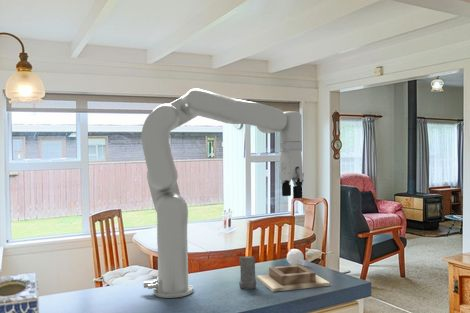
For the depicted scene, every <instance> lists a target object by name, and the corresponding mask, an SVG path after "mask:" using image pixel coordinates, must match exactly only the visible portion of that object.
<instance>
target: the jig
mask: <svg viewBox="0 0 470 313" xmlns="http://www.w3.org/2000/svg"><path fill="white" fill-rule="evenodd" d="M256 280H258V281H259V282H260V283H261V284H262V285H263V286H264V287H266V288H267V289H269V290H270V291H271V292H281V291H282V292H283V291H291V290H301V289H309V288H320V287H328V286H330V285H331V284H330V283H331V282H330V281H328V280H326V279H325V278H322V277H321V276H319V275H317V274H316V272H314V271H313V270H311V269H310V268H308V267H306V266H304V265H302V264H300V265H291V264H289V265H284V266H282V265H281V266H273V267H272V266H271V267H268V274H261V275H260V274H259V275H258V274H257V275H256Z"/></svg>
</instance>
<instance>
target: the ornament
mask: <svg viewBox="0 0 470 313" xmlns="http://www.w3.org/2000/svg"><path fill="white" fill-rule="evenodd" d="M304 256H305V255H304V254H303V252H302V251H301V250H300V249H297V248H292V249H291V248H290V249H288V252H287V254H286V261H287V262H288V264H289V265H302V264H303V262H304V261H305V260H304Z"/></svg>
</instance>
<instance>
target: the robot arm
mask: <svg viewBox="0 0 470 313" xmlns="http://www.w3.org/2000/svg"><path fill="white" fill-rule="evenodd" d="M198 116H199V117H202V118H205V119H206V118H207V119H211V120H215V121H218V122H221V123H225V124H229V125H230V124H231V125H248V126H254V127H256V128H257V129H258V131H259V132H261V133H263V134H272V133H273V134H274V133H279V142H280V143H279V150H280V156H279V179H280V180H281V196H282V197H291V195H292V198H293V199H303V196H304V195H303V194H304V193H303V186H304V174H305V172H304V171H303V157H302V156H303V155H302V152H303V129H302V127H303V124H302V120H303V119H302V113H301V112H299V111H297V110H296V111H294V110H292V111H283V110H281V109H280V108H277V107H273V106H270V105H267V104H264V103H259V102H255V101H254V102H253V101H248V100H244V99H237V98H232V97H229V96H226V95H223V94H218V93H215V92H213V91H208V90H204V89H201V88H191V89H190V90H188V91H187V92H186V93H185V94H184V95H182V96H181V97H179V98H177V99H176V100H174V101H172V102H170V103H162V104H160V105H158V106H157V107H155V108H154V109H153V110H152V111H151V112H150V113H149V114H148V115H147V117H146V119H145V120H144V123H143V126H142V129H141V146H142V152H143V155H144V160H145V164H146V168H147V170H146V179H147V182H148V187H149V192H150V195H151V198H152V203H153V205H154V206H153V207H154V210H155V213H156V220H157V221H156V224H157V225H156V233H157V234H156V235H157V236H156V240H157V242H156V243H157V244H156V245H157V277H156V279H153V280H152V281H147V280H146V281H143V282H142V283H143V285H142V286H143V289H148V290H152V289H153V295H154V296H155V297H157V298H165V299H175V298H176V299H177V298H182V297H187V296H189V295H190V294H192V293H193V292H194V287H193V285H191V284H189V261H188V260H189V258H188V257H189V256H188V255H189V254H188V252H189V251H188V248H189V247H188V222H189V221H188V220H189V219H188V217H189V210H188V204H187V202H186V200H185V199H184V197H183V196H182V195H181V192H180V189H179V185H178V184H179V183H178V178H179V176H178V170H177V168H176V165H175V162H174V158H173V154H172V150H171V146H170V144H171V143H170V133H171V131H173V130H175V129H176V128H178V127H180V126H182V125H184V124H186V123H188V122H189V121H191V120H193V119H195V118H197V117H198ZM291 181H292V183H293V185H292V186H291Z"/></svg>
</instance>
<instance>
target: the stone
mask: <svg viewBox="0 0 470 313" xmlns="http://www.w3.org/2000/svg"><path fill="white" fill-rule="evenodd" d="M238 258H239V259H238V261H239V267H240V272H239V273H240V279H239V282H238V284H239V288H240V289H244V290H245V289H246V290H247V289H250V290H251V289H252V290H253V289H256V287H257V277H256V258H255V257H254V256H240V257H238Z"/></svg>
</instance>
